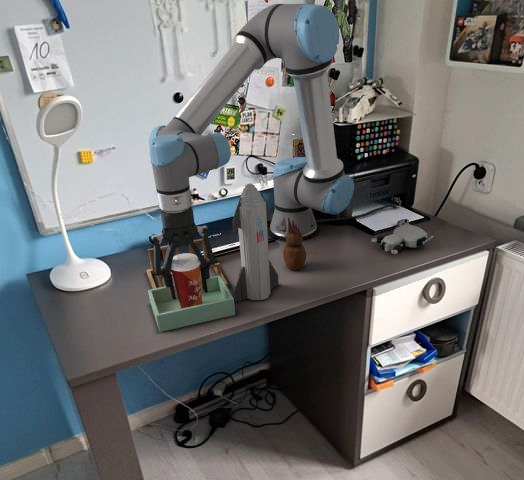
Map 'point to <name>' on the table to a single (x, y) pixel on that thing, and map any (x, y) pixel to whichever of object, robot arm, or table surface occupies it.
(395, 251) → the robot toy
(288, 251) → the wooden figurine
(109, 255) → the table surface
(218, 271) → the drying rack
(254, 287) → the rocket model
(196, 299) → the paper cup
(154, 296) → the green rectangular tray
